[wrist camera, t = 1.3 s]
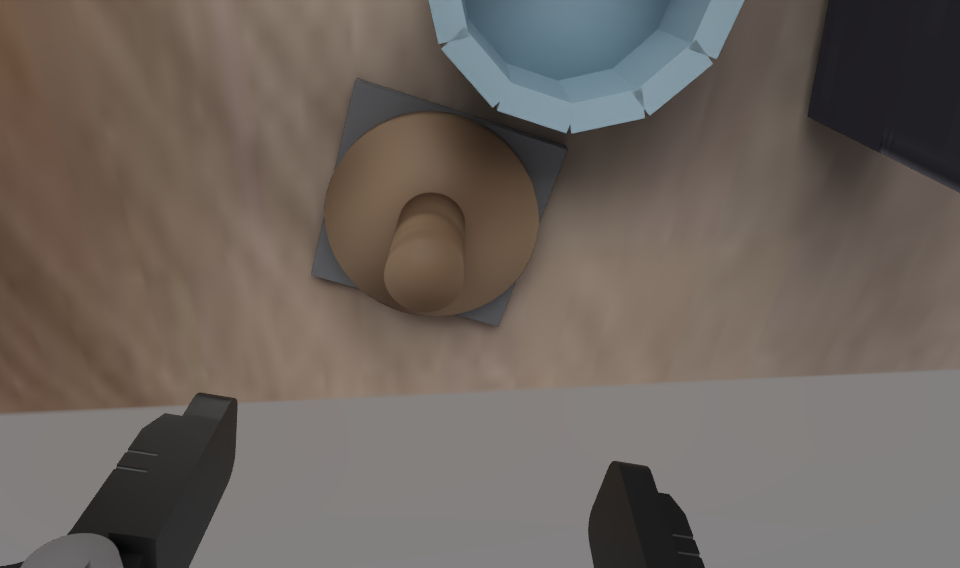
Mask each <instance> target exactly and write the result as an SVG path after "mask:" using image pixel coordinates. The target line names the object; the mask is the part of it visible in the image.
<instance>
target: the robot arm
mask: <svg viewBox="0 0 960 568" xmlns="http://www.w3.org/2000/svg"><path fill="white" fill-rule="evenodd" d="M236 427H237V400H236V398H230V397H224V396H218V395H212V394H206V393H198V394H196V395H195V397H194V398H193V400H192V401H191V403H190V405H189V406H188V408H187V409H186V411H185V412H184V414H183V416H179V415H172V414H166V413H165V414H163V415H162V416H160V417H159V418H157V419H156V420H154V421H153V422H151V423H150V424H149V425H147V426H146V427H144V428H143V429H142V430H141V431H140V433H139V434H138V436H137V437H136V438H135V440H134V441H133V443H132V444H131V446H130V447H129V448H128V452H127V453H125V454H124V455H123V457H122V458H121V460H120V461H119V463H118V464H117V467H116V469H114V470H113V471H112V473H111V474H110V475H109V477H108V478H107V480H106V481H105V483H104V484H103V486H102V487H101V488H100V490H99V491H98V493H97V494H96V495H95V497H94V498H93V500H92V501H91V502H90V504H89V506H88V507H87V508H86V510H85V511H84V512H83V514H82V515H81V517H80V518H79V520H78V521H77V522H76V524H75V525H74V527H73V528H72V530H71V531H70V532H69V533H68V534H67V536H63V537H60V538H57V539H55V540H52V541H51V542H48V543H46V544H44V545H43V546H41V547H40V548H38V549H37V550H36V551H34V552H33V553H32V554H31V555H30V556H29V557H28V558H27V559H26V560H25V561H23V562H20V563H17V564H13V565H7V566H1V567H0V568H189V565H190V563H191V561H192V559H193V557H194V555H195V553H196V550H197V548H198V546H199V544H200V542H201V540H202V538H203V536H204V533H205V531H206V529H207V527H208V525H209V523H210V521H211V519H212V516H213V514H214V512H215V510H216V508H217V506H218V503H219V501H220V499H221V497H222V495H223V493H224V491H225V489H226V487H227V484H228V482H229V479H230V476H231V472H232V468H233V464H234V460H235V448H236ZM588 534H589V542H590V548H591V554H592V559H593V564H594V568H705V567H704V564H703V561H702V559H701V558H700V557H699V554H700V553H699V550H698V548H697V545H696V542H695V540H693V534H692V531H691V529H690V526H689V523H688V520H687V518H686V515H685V513H684V512H683V511H682V510H681V508H680V507H679V506H678V505H677V503H676V502H675V501H674V500H673V498H672V497H671V496H670V495H669V494H664V493H658V491H657V488H656V485H655V482H654V479H653V476H652V473H651V470H650V469H649V468H648V467H647V466H643V465H637V464H631V463H624V462H618V461H613V462H612V463H611V464H610V465H609V468H608V470H607V473H606V475H605V477H604V480H603V483H602V485H601V488H600V490H599V492H598V495H597V498H596V500H595V503H594V505H593V507H592V510H591V513H590V518H589V527H588Z"/></svg>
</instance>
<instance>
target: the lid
mask: <svg viewBox="0 0 960 568" xmlns="http://www.w3.org/2000/svg"><path fill="white" fill-rule="evenodd" d="M538 224H539V214H538V204H537V200H536V196H535V192H534V188H533V184H532V181H531V178H530V176H529V173H528V171H527V169H526V167H525V165H524V164H523V162H522V160H521V158H520V157H519V156H518V155H517V153H516V152H515V151H514V149H513V148H512V147H511V146H510V145H509V144H508V143H507V142H506V141H505V140H504V139H503V138H502V137H501V136H499V135H498V134H497V133H495V132H494V131H493V130H491V129H490V128H488V127H486V126H485V125H483V124H481V123H479V122H477V121H475V120H472V119H470V118H467V117H465V116H461V115H457V114H453V113H448V112H440V111H419V112H412V113H406V114H403V115H399V116H396V117H392V118H390V119H388V120H386V121H383V122H381V123H379V124H378V125H376V126H374V127H373V128H371V129H370V130H368V131H367V132H366V133H364V134H363V135H362V136H361V137H360V138H358V139H357V140H356V141H355V143H354V144H353V145H352V146H351V147H350V148H349V149H348V151H347V152H346V154H345V155H344V157H343V158H342V160H341V161H340V163H339V164H338V166H337V168H336V170H335V172H334V174H333V176H332V178H331V180H330V184H329V187H328V190H327V194H326V200H325V226H326V233H327V237H328V240H329V244H330V246H331V249H332V251H333V254H334V256H335V258H336V259H337V261H338V263H339V265H340V266H341V268H342V269H343V271H344V272H345V273H346V274H347V276H348V277H349V278H350V279H351V280H352V281H353V282H354V283H355V284H356V285H357V286H358V287H359V288H360V289H361V290H362V291H364V292H365V293H366V294H367V295H369V296H370V297H372V298H374V299H375V300H377V301H378V302H380V303H382V304H384V305H386V306H389V307H391V308H393V309H396V310H399V311H402V312H406V313H410V314H415V315H423V316H447V315H455V314H459V313H463V312H468V311H470V310H473V309H476V308H478V307H481V306H483V305H485V304H487V303H489V302H490V301H492V300H494V299H495V298H497V297H498V296H499V295H501V294H502V293H503V292H505V291H506V290H507V289H508V288H509V287H510V286H511V285H512V284H513V283H514V282H515V281H516V280H517V278H518V277H519V276H520V275H521V273H522V272H523V270H524V269H525V267H526V266H527V264H528V262H529V259H530V257H531V255H532V253H533V250H534V247H535V244H536V240H537V234H538Z"/></svg>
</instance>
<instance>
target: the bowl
mask: <svg viewBox="0 0 960 568" xmlns="http://www.w3.org/2000/svg"><path fill="white" fill-rule="evenodd" d="M743 2H744V0H429V5H430V9H431V14H432V18H433V22H434V27H435V31H436V35H437V40H438V44H442V43H443V45H442V48H441V50H442V51H443V52H444V53H445V54H446V55H447V57H448V58H449V59H450V60H451V61H452V62H453V63H454V64H455V66H456V67H457V68H458V69H459V70H460V71H461V72H462V74H463V75H464V76H465V77H466V78H467V79H468V80H469V81H470V83H471V84H472V85H473V86H474V87H475V88H476V89H477V91H478V92H479V93H480V94H481V95H482V96H483V97H484V98H485V100H486V101H487V102H488V103H489V104H490V105H491V106H492V108H493V107H494V106H495V105H496V107H497V111H499V112H503V113H506V114H509V115H512V116H515V117H518V118H521V119H524V120H527V121H530V122H533V123H536V124H539V125H542V126H545V127H548V128H551V129H554V130H557V131H560V132H564V133H567V131H568V128H569V130H570V132H571V134H573V133H577V132H582V131H587V130H592V129H596V128H601V127H606V126H610V125H615V124H620V123H625V122H629V121H634V120H639V119H644V118H645V114H644V111H645V112H646V113H647V114H648V115H649V116H650V115H651V114H653V113H654V112H655V111H656V110H658V109H659V108H660V107H661V106H662V105H664V104H665V103H666V102H667V101H669V100H670V99H671V98H672V97H673V96H675V95H676V94H677V93H678V92H679V91H681V90H682V89H683V88H684V87H686V86H687V85H688V84H689V83H690V82H692V81H693V80H694V79H695V78H697V77H698V76H699V75H700V74H701V73H703V72H704V71H705V70H706V69H707V68H709V67H710V66H711V65H712V64H713V63H712V62H711V60H710V59H709V57H712V58H715V59H717V58H718V56H719V53H720V51H721V49H722V47H723V45H724V43H725V41H726V39H727V36H728V34H729V32H730V30H731V28H732V26H733V24H734V22H735V19H736V17H737V15H738V13H739V11H740V9H741V7H742V5H743ZM708 56H709V57H708Z"/></svg>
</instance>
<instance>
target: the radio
mask: <svg viewBox="0 0 960 568" xmlns="http://www.w3.org/2000/svg"><path fill="white" fill-rule="evenodd" d="M808 117H810V118H812V119H814V120H816V121H818V122H820V123H822V124H824V125H826V126H828V127H830V128H832V129H834V130H836V131H838V132H840V133H842V134H844V135H846V136H848V137H850V138H852V139H854V140H856V141H858V142H860V143H862V144H864V145H865V146H867V147H869V148H871V149H873V150H875V151H877V152H879V153H881V154H883V155H885V156H887V157H889V158H891V159H893V160H895V161H897V162H899V163H901V164H903V165H905V166H907V167H909V168H911V169H913V170H915V171H917V172H919V173H921V174H923V175H925V176H927V177H929V178H931V179H933V180H935V181H937V182H939V183H941V184H943V185H945V186H947V187H949V188H951V189H953V190H955V191H957V192H959V193H960V0H829V5H828V11H827V16H826V21H825V27H824V32H823V37H822V43H821V48H820V53H819V58H818V64H817V69H816V74H815V80H814V85H813V90H812V96H811V101H810V106H809V111H808Z"/></svg>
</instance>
